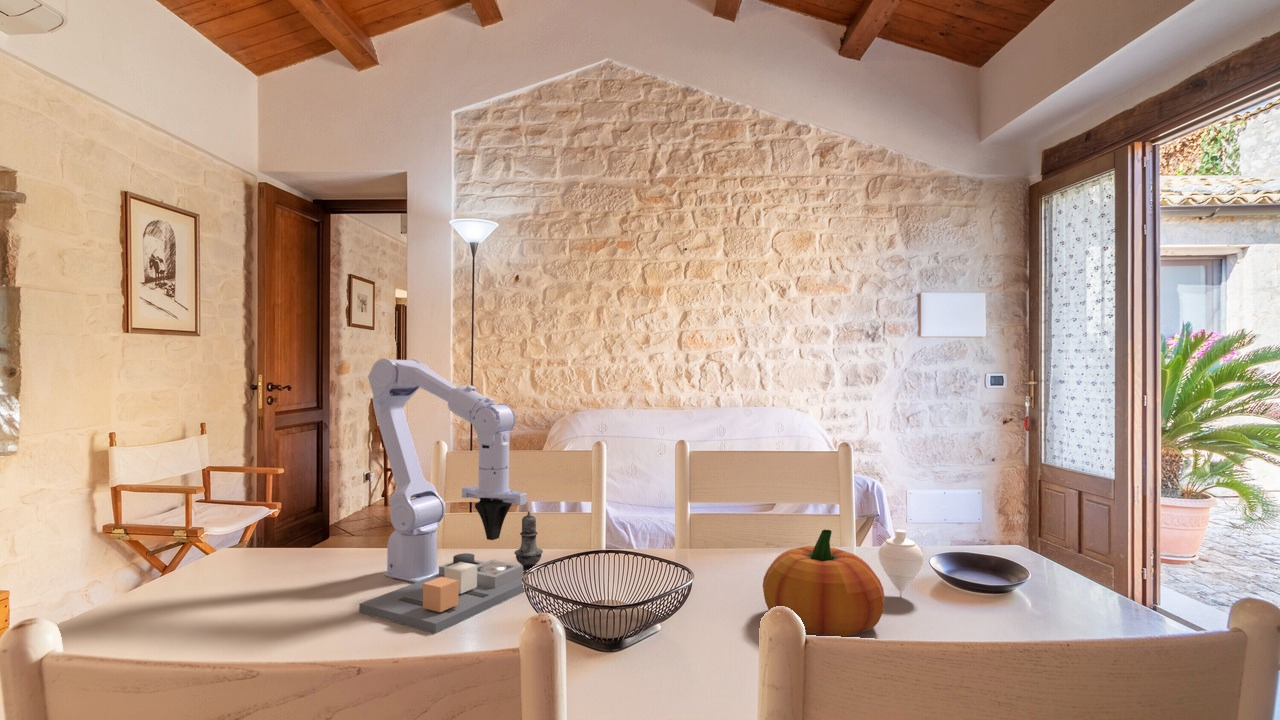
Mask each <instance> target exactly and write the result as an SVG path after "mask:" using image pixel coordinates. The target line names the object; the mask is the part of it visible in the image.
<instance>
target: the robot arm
mask: <svg viewBox="0 0 1280 720" xmlns="http://www.w3.org/2000/svg"><path fill="white" fill-rule="evenodd" d="M367 379H368V381H369V385H370V389H371V391H372V392H371V393H372V406H373V412H374V414H375V417H376V418H375V419H376V422H377V424H378V428H379V431H380V434H381V439H382V441H383V445H384V448H385V449H384V450H385V451H386V455H387V459H388V463H389V465H390V469H391V472H392V475H393V480H394V482H395V483H394V484H395V487H396V489H395V490H394V492H393V493H392V494H391V496H390V497H389V500H388V502H389V506H390V521H391V524H392V526H393V528H394V531H393V532H392V533H391V534H390V536H389V538H388V540H387V546H386V548H387V551H386V552H387V555H386V556H387V557H386V559H387V560H386V563H387V564H386V569H387V570H386V571H385V572H383V576H385V577H389V578H393V579H397V580H402V581H407V582H411V583H417V582H419V581H422V580H425V579H428V578H430V577H433V576H436V575H438V574H439V567H437V562H438V561H437V558H438V557H437V549H438V548H437V547H438V528H440V522H441V521H442V520H443V519H444V516H445V513H446V504H445V502H444V500H443V498H442V497H441V496H440V494H439V493H438V491H437V489H436V486H435V485H434V484H433V483H431V482H430V481H428V480H427V479H425V476H424V473H423V470H422V467H421V463H420V459H419V457H418V453H417V450H416V447H415V442H414V439H413V437H412V434H411V430H410V427H409V424H408V419H407V416H406V413H405V410H404V407H405V405H406V403H407V402H408V401H409V400H410V399H411V398H412V397H413V396H414V395H415V394H416V392H417V391H418V390H420V388H421V389H422V390H424V391H427V392H428V393H430V394H431V395H433V396H436V397H438V398H440V399H442V400H443V401H445V402H447V407H448V410H449V411H450V412H452V413H453V414H455V415H457V416H459V417H460V418H462V419H464V420H465V421H467V422H468V423H470V424H471V425H472V427H473V429H474V431H475V433H476V436H477V438H476V440H477V442H478V482H477V483H478V484H477V485H478V486H470V485H469V486H468V485H467V486H465V487H461V498H464V499H468V498H469V499H478V500H479V501H478V502H476V503H474V508H475V509H476V511H477V512H478V515H479V517H480V520H481V521H482V524H483V529H484V533H485V537H486V540H489V541H495V540H497V539H500V535H501V531H502V528H503V524H504V521H505V519H506V517H507V514H508V512H509V511H510V509H511V506H512V505H513V504H514V505H516V506H522V505H526V504H527V501H528V498H527V497H528V493H526V492H521V491H518V490H514V489H510V437H511V436H510V434H511V433H510V432H511V431H512V430H513V429H514V427H515V425H516V419H517V418H516V414H515V412H514V410H513V408H512V407H510V406H509V404H508V403H501V402H500V403H498V404H496V403H495V402H494V401H495V400H494V398H492V397H486V396H484V395H483V394H481V393H479V392H477V387H475V386H473V385H461V386H458V387H457V386H456V385H454V384H453V383H452V382H450V381H449V380H447V379H445V378H444V376H441V375H439V374H438V373H437V372H435V370H432V368H429V365H428V364H427V363H424V362H423V363H422V361H419V360H418V359H389V358H379V359H378V360H376V361H375V363H374V364H373V366H372V367H371V370H370V372H369V374H368V376H367Z"/></svg>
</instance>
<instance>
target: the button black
mask: <svg viewBox="0 0 1280 720" xmlns="http://www.w3.org/2000/svg"><path fill="white" fill-rule="evenodd" d="M452 560H453V561H452V562H453V564H456V563H459V562H465V563H470V564H474V560H475V554H474V553H466V552H465V553H458V554H456V555H454V556H453V559H452Z"/></svg>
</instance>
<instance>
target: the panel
mask: <svg viewBox="0 0 1280 720" xmlns="http://www.w3.org/2000/svg"><path fill="white" fill-rule="evenodd" d="M488 563H503V564H506V566H507V569H506V570H504V571H502V572H499V573H497V574H490V573H485V572H480V566H482V565H484V564H488ZM474 564H475V565H477V587H476V588H474V589H471V590H469V591H466V592H464V593H462V594H460V593H459V596H458V605H456V606H454V607H451V608H449V609H447V610H444V611H442V612H437V611H433V610H429V609H425V608H423V583H426V582H428V581H431V580H434V579H436V578H439V577H444V568H445V567H447V566H450V565H453V561H451V562H448V563H445V564H442V565H440V566H438V568H439V574H438V575H436V576H433V577H430V578H428V579H425V580H422V581H419V582H413V583H412V584H408V585H406V586H404V587H400V588H398V589H395V590H392V591H390V592H387V593H384V594H381V595H379V596H376V597H373V598H370V599H368V600H365V601H362V602H360V603H359V606H358V609H359V610H358V612H359V613H360V614H364V615H367V616H371V617H375V618H378V619H382V620H386V621H389V622H393V623H395V624H396V623H397V624H400V625H403V626H408V627H411V628H413V629H414V628H415V629H419V630H423V631H427V632H430V633H434V634H438V633H440V632H442V631H443V630H445V629H449V628H450V627H452V626H454V625H456V624H459V623H461V622H464V621H466V620H467V619H469V618H471V617H474V616H475V615H479V614H480V613H481V612H484V611H486V610H488V609H490V608H492V607H494V606H497V605H499V604H501V603H503V602H505V601H507V600H510V599H511V598H513V597H516V596H518V595H520V594H522V593H524V592H525V591H524V588H523V584H522V576H523V575H524V574H525V573H523V565H522V564H517V563H512V562H505V561H500V560H496V559H495V560H494V559H490V560H486V561H482V560H476V559H474Z"/></svg>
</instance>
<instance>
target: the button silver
mask: <svg viewBox="0 0 1280 720" xmlns="http://www.w3.org/2000/svg"><path fill="white" fill-rule="evenodd" d="M506 569H507V566H506V564H503V563H488V564H484V565H482V566H480V572H485V573H490V574H497V573H499V572H502V571H504V570H506Z"/></svg>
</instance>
